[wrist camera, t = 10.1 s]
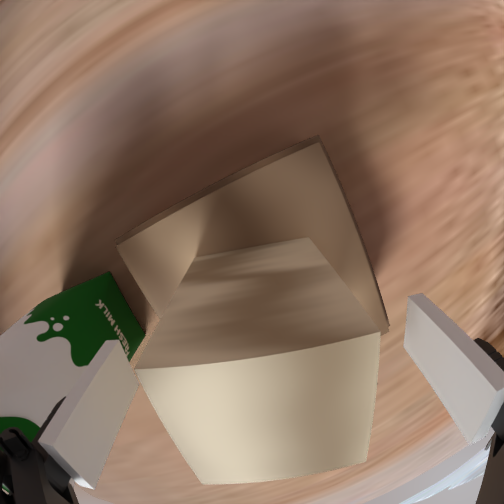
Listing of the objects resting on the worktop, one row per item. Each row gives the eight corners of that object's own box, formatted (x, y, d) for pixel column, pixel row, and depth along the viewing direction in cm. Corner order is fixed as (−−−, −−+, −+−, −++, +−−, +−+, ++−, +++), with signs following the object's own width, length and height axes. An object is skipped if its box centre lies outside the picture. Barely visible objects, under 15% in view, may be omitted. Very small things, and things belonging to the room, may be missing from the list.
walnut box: (224, 352, 27) (217, 404, 20) (145, 221, 23) (107, 244, 17) (363, 292, 25) (395, 333, 18) (301, 141, 21) (322, 132, 15)
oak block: (220, 351, 18) (202, 484, 9) (194, 257, 17) (134, 369, 7) (319, 334, 18) (365, 461, 9) (308, 236, 16) (380, 331, 7)
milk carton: (158, 340, 26) (76, 531, 7) (93, 358, 27) (4, 499, 8) (113, 257, 24) (-57, 412, 5) (51, 288, 25) (-81, 406, 6)
